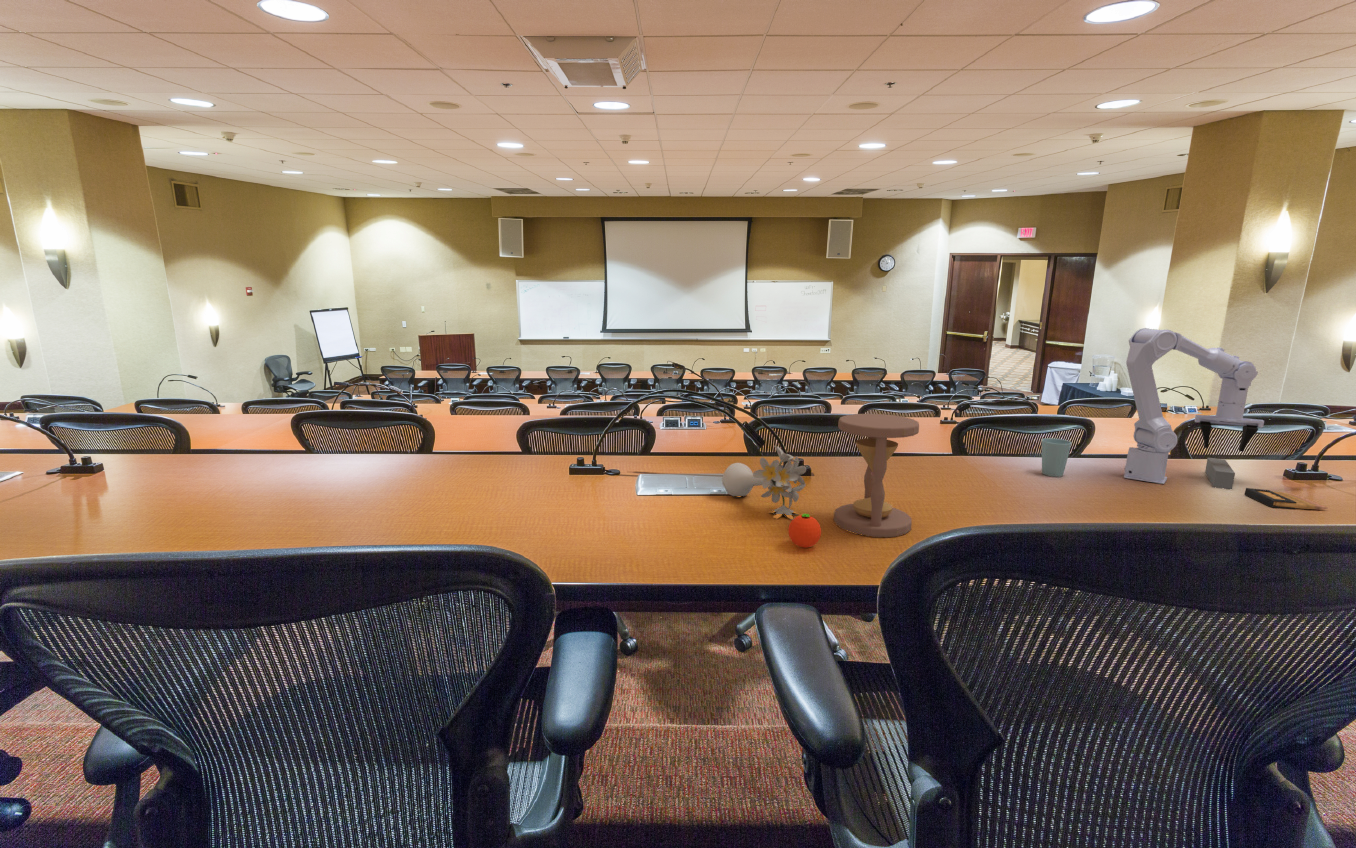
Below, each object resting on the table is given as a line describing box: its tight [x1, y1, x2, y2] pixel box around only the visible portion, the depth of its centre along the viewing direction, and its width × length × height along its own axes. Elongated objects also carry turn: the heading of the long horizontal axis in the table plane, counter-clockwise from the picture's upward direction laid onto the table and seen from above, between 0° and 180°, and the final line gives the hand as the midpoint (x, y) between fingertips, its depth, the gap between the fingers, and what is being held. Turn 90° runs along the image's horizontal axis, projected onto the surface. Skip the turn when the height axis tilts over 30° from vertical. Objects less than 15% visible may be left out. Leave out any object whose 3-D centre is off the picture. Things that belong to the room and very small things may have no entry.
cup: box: [1041, 437, 1072, 478], centre depth 181 cm, size 8×8×10 cm
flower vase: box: [721, 445, 807, 515], centre depth 154 cm, size 13×18×25 cm
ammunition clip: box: [1244, 487, 1328, 510], centre depth 155 cm, size 11×2×12 cm
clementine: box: [787, 513, 822, 549], centre depth 129 cm, size 8×7×7 cm
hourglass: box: [833, 413, 920, 538], centre depth 139 cm, size 18×18×25 cm
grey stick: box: [1204, 457, 1236, 490], centre depth 174 cm, size 4×18×5 cm, turn 145°
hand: (1223, 449), depth 173 cm, fingers open, 7 cm apart
